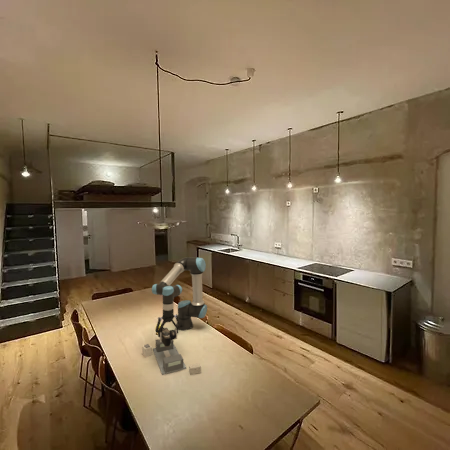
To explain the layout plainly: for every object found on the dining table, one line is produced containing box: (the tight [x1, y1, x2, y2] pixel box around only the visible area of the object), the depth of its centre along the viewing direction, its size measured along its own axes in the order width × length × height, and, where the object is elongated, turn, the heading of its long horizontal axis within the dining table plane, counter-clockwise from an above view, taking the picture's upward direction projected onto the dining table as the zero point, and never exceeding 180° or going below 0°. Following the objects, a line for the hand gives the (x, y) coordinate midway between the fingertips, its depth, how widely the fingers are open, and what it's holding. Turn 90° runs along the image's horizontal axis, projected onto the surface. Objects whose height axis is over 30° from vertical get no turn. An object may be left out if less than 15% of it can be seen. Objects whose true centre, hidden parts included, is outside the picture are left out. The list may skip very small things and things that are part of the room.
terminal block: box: [188, 363, 202, 376], centre depth 172 cm, size 7×4×4 cm, turn 108°
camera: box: [161, 326, 177, 347], centre depth 186 cm, size 16×10×10 cm, turn 31°
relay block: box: [141, 343, 153, 358], centre depth 193 cm, size 5×6×7 cm
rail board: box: [152, 338, 187, 376], centre depth 187 cm, size 16×34×7 cm, turn 25°
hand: (168, 339), depth 187 cm, fingers closed on camera, 10 cm apart
